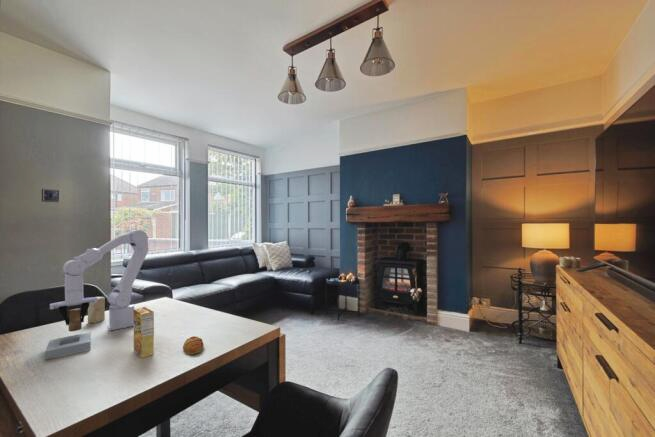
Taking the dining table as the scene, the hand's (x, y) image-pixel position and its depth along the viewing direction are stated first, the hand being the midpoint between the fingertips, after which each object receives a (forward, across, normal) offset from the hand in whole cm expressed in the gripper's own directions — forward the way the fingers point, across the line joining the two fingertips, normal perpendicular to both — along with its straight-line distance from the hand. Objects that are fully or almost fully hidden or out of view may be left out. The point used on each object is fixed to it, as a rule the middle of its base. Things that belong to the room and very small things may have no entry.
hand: (75, 323), depth 119 cm
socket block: (+6, +1, +12) cm, 14 cm away
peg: (+3, 0, 0) cm, 3 cm away
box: (+6, -7, -20) cm, 22 cm away
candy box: (+6, -20, +34) cm, 40 cm away
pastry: (+7, -35, +43) cm, 56 cm away
